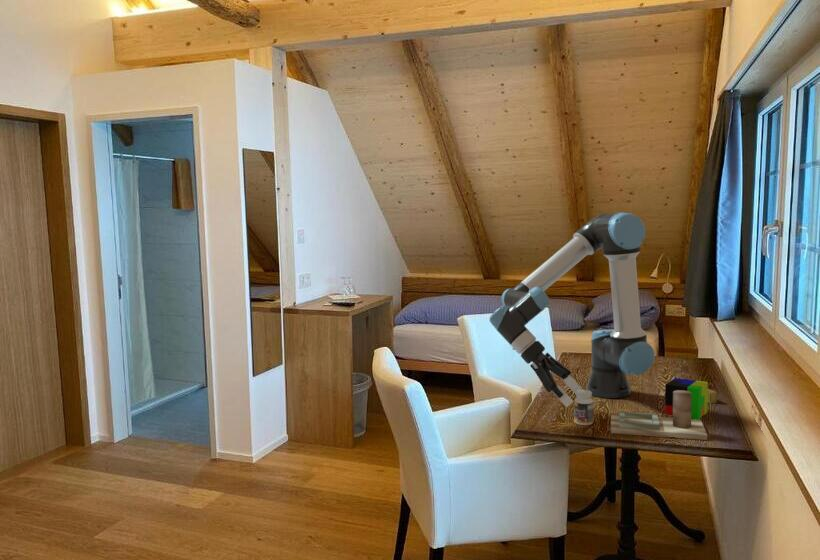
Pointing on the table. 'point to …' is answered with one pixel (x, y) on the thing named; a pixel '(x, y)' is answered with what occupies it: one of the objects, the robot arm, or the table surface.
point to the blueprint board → (662, 421)
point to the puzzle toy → (698, 396)
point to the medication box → (711, 396)
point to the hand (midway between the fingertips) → (575, 398)
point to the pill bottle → (583, 408)
